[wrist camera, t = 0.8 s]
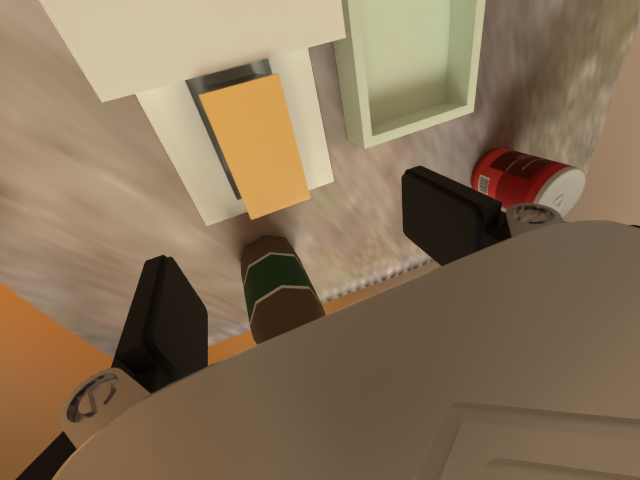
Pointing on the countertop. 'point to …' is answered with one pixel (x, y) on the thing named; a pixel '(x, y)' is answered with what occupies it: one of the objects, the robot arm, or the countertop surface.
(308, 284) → the beer bottle
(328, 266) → the countertop surface
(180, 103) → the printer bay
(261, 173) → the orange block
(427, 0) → the tray
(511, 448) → the robot arm
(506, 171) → the canned food
